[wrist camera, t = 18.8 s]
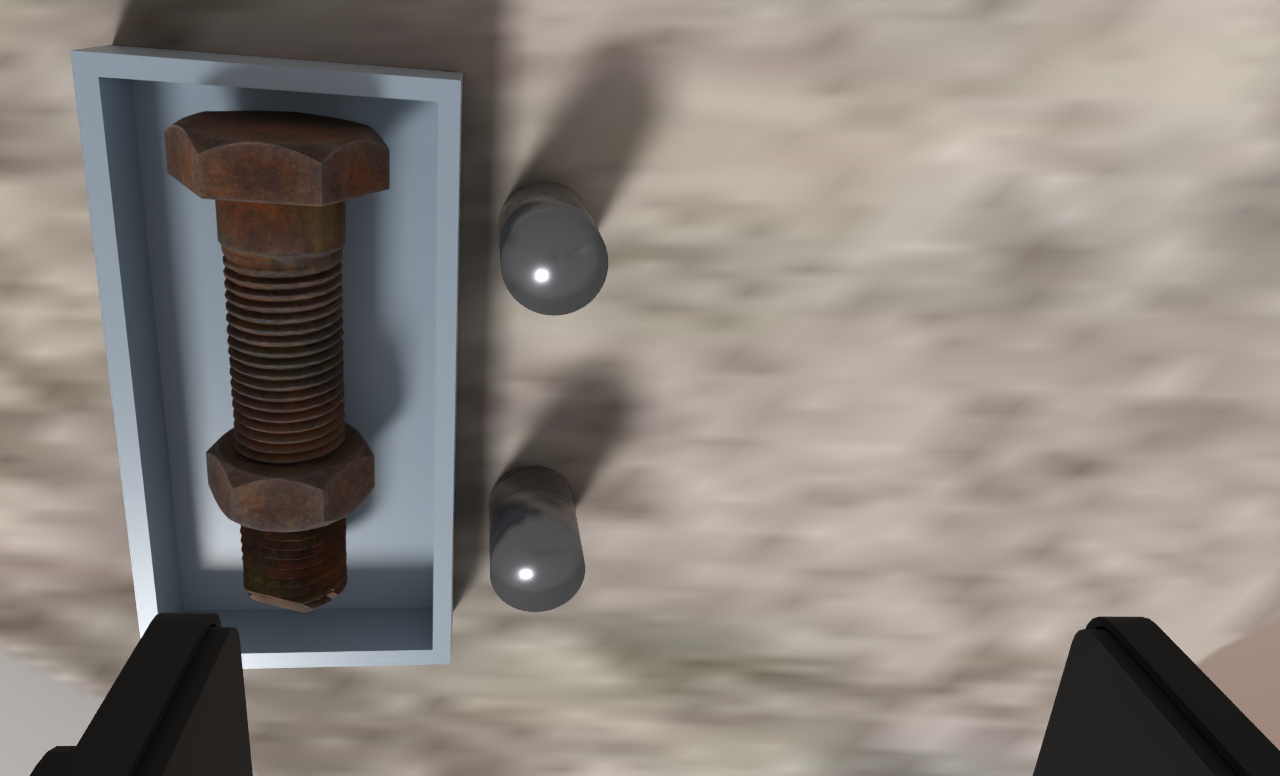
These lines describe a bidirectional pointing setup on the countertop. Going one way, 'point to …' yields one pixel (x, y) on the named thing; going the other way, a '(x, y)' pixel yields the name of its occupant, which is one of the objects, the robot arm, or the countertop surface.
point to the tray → (199, 360)
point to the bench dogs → (536, 496)
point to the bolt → (284, 336)
